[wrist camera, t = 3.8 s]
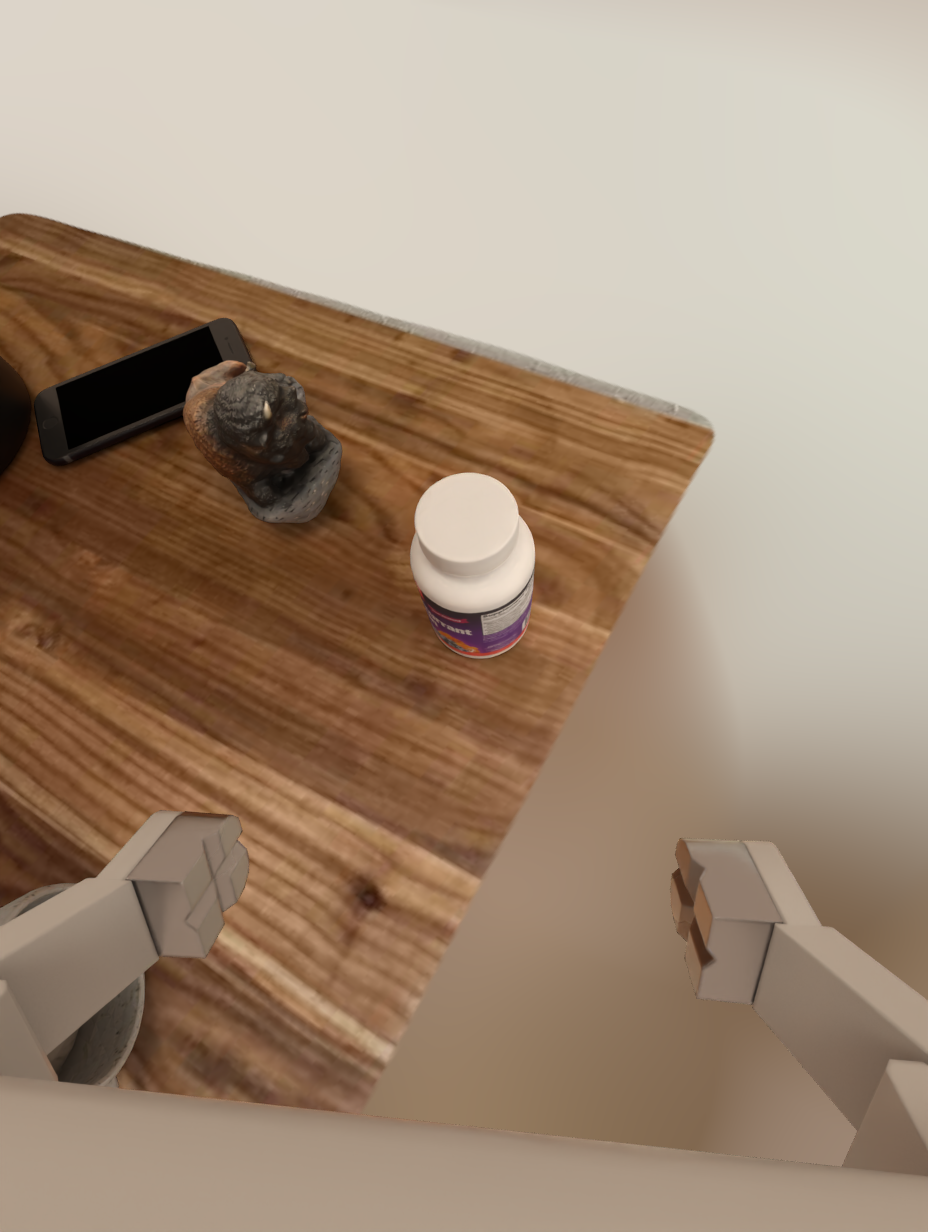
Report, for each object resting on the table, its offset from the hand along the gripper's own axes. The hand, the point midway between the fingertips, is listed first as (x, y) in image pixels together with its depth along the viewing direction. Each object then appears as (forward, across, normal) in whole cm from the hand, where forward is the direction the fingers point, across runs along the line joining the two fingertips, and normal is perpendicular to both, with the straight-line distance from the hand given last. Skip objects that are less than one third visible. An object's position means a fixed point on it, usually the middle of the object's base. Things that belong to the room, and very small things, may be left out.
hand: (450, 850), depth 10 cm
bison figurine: (+27, +14, -4) cm, 30 cm away
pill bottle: (+20, +1, +3) cm, 20 cm away
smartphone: (+31, +25, -8) cm, 41 cm away
